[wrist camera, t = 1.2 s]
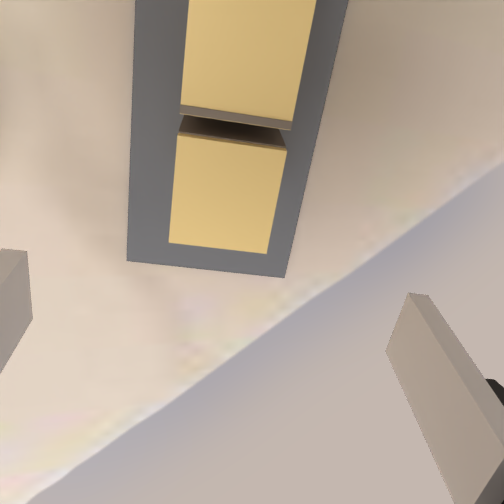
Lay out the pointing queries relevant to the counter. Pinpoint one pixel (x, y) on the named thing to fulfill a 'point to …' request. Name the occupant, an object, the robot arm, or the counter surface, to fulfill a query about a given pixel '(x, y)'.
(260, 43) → the tall yellow box
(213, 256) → the mat
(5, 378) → the counter surface
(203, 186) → the stub
